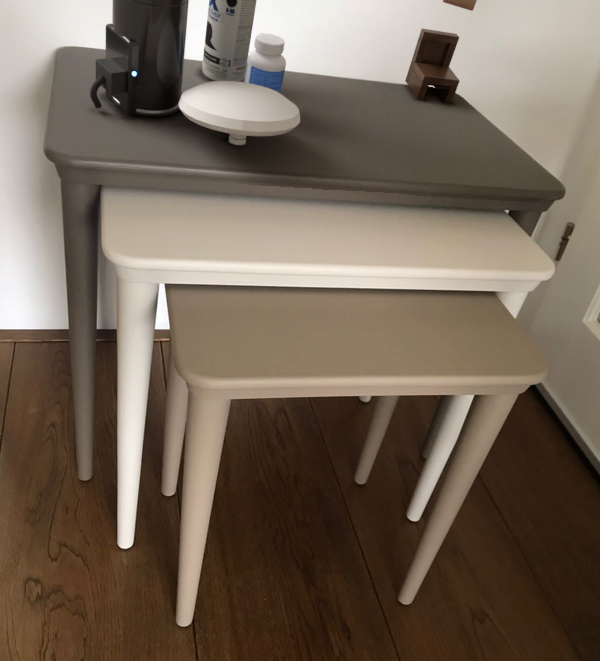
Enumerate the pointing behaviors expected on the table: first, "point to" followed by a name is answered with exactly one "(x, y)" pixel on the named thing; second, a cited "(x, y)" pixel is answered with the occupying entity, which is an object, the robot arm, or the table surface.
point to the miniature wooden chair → (433, 65)
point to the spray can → (228, 39)
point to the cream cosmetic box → (462, 3)
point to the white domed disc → (239, 109)
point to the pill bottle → (266, 62)
